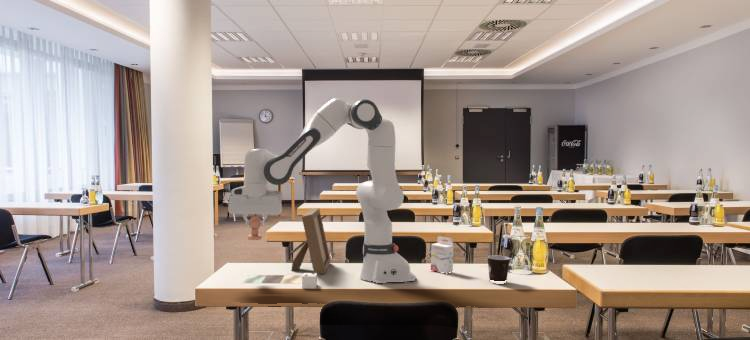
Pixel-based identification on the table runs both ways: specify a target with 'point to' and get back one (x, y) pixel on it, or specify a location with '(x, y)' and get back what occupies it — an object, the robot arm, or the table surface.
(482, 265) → the table surface
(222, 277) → the table surface
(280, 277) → the track board
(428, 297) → the table surface
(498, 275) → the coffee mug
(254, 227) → the pawn
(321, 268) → the photo frame
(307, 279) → the die
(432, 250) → the ink cartridge box
